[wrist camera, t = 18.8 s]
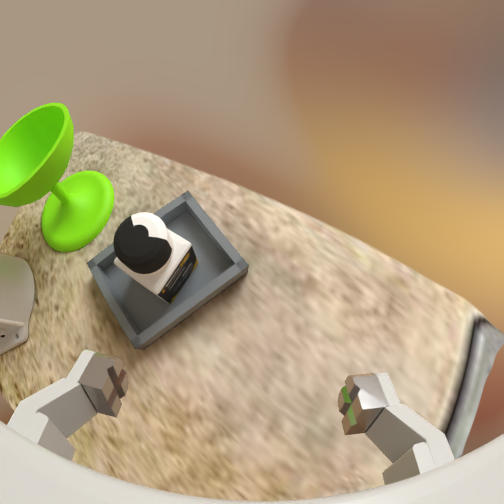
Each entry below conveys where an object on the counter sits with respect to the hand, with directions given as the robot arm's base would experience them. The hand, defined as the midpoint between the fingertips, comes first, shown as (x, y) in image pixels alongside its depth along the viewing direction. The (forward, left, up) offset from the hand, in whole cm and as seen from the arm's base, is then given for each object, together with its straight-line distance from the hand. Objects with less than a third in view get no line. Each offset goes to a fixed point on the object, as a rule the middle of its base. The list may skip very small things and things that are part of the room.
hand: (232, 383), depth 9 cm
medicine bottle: (0, +15, -27) cm, 31 cm away
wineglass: (-8, +35, -27) cm, 45 cm away
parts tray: (0, +15, -27) cm, 31 cm away
